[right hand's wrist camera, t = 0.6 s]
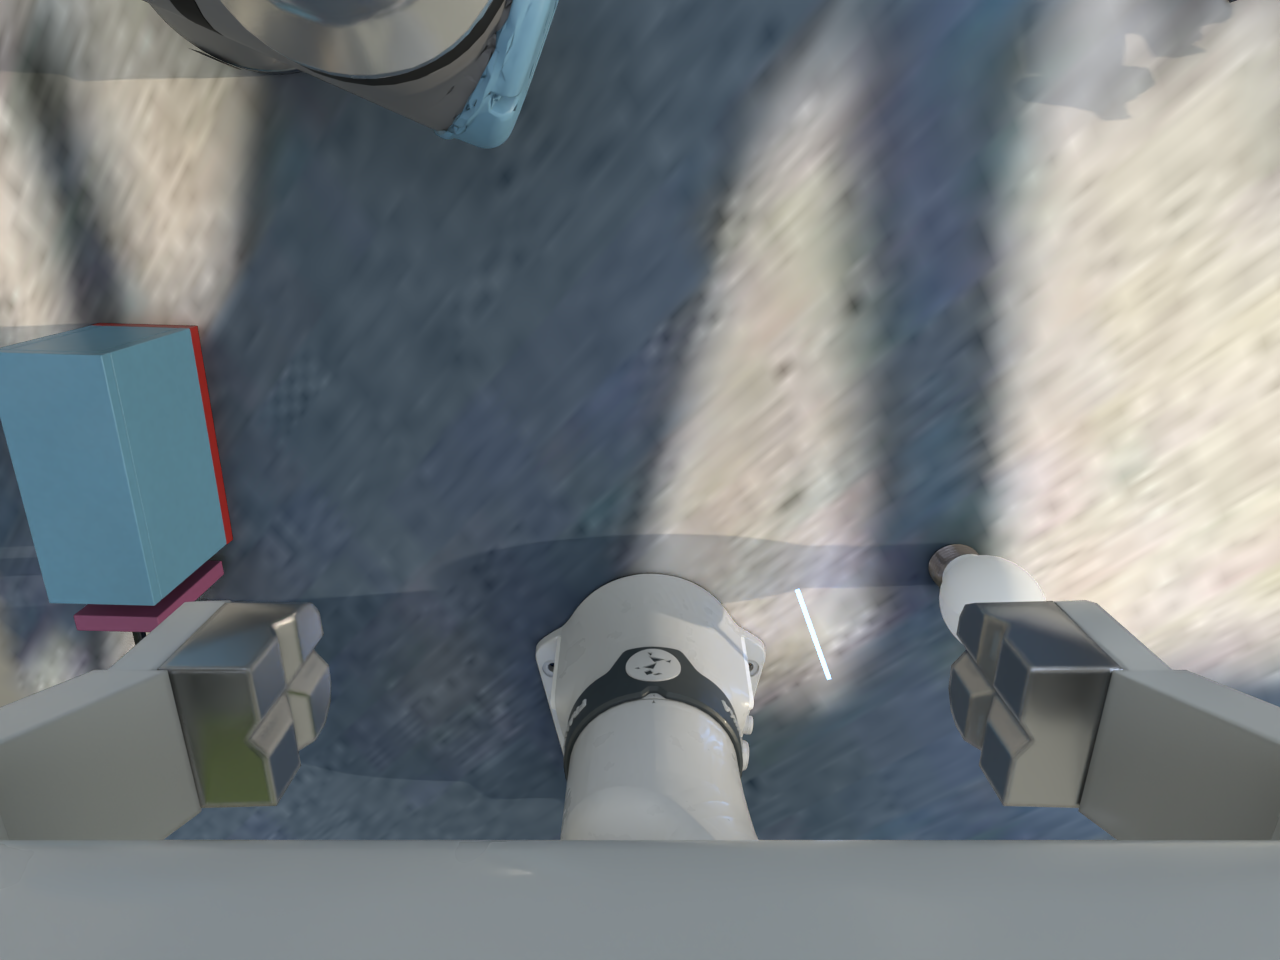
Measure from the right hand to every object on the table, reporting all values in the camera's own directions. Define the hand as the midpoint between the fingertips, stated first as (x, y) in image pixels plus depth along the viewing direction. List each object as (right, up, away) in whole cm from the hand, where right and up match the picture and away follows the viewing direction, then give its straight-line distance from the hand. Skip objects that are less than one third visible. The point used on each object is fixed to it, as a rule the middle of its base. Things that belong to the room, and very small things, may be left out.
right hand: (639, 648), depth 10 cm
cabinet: (-35, +5, +48) cm, 60 cm away
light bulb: (+25, -4, +52) cm, 58 cm away
